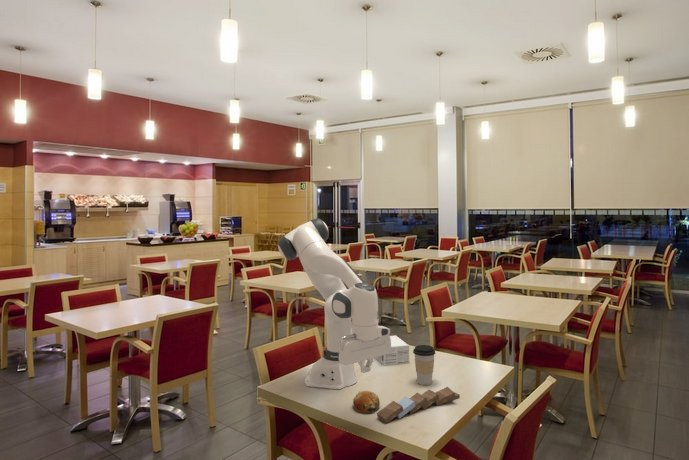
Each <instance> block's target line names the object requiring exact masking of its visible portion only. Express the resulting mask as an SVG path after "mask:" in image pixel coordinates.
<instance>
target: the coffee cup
mask: <svg viewBox="0 0 689 460" xmlns="http://www.w3.org/2000/svg"><path fill="white" fill-rule="evenodd" d="M412 354H414V363H415V364H414V365H415V366H414V367H415V371H416V372H415V373H416V377H417V383H418V384H419V385H422V386H430V385H431V384H432V382H433V374H434V367H435V365H434V363H435V355H436V350H435V348H434V347H433V346H432V345H427V344H419V345H416V346H414V348H413V350H412Z"/></svg>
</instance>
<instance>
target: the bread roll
mask: <svg viewBox="0 0 689 460" xmlns="http://www.w3.org/2000/svg"><path fill="white" fill-rule="evenodd" d="M352 402H353V403H352V404H353V408H354V410H355V411H356V412H358V413H360V412H361V413H360V414H372V412H373V413H374V412H376V411H377V410H378V409H379V408H380V404H381V403H380V399H379V396H378V395H377V393H375V392H373V391H371V390H361V391H360V390H359V392H358V393H357V394H356V395H355V396H354V398H353V400H352Z"/></svg>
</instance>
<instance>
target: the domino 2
mask: <svg viewBox="0 0 689 460" xmlns="http://www.w3.org/2000/svg"><path fill="white" fill-rule="evenodd" d="M409 398H410V397H407V396H404V397H403V398H402V399H400V400H399V401H398V402H397V403H398V404H400V405H402V407H403V410H404V411H402V412H401V413H400V414H399V415H397V416H396V417H395V418H397V419H400V420H401V418H403V417H404V416H405V415H406V414H407V413H409V411H410V410H411V409H413V408H414V407H415V403H414V401H412V400H410V399H409Z"/></svg>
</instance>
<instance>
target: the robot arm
mask: <svg viewBox="0 0 689 460" xmlns="http://www.w3.org/2000/svg"><path fill="white" fill-rule="evenodd" d="M329 236H330V232H329V227H328V225H327V224H326V223H325V221H323V220H322V219H321V218H318V217H316V218H313V219H311V220H310V221H307V222H304V223H302V224H300V225H298V226H296V227H295V228H294V229H292V230H291V231H290V232H288V233H287V234H285V235H282V236H281V237H280V238H279V239H278V241H277V247H278V249H277V250H278V252H279V253H280V256H281V257H283V258H284V259H286V261H287V260H288V261H292V260H296V259H297V258H299V261H300V263H301V265H302V268H303V269H304V271H305V273H306V275H307V277H308V278H309V280H310V282H311V283H312V285H313V287H314V289H316V291H318V292H319V294H320V295H321V296H322V298H323V299H324V301H325V303H324V306H323V307H324V309H323V310H324V319H325V320H324V321H325V328H326V346H323V347H322V357H320V358H319V359H318V360H317V361H316V362H315V363H313V364H312V365H311V369H310V372H309V374H307V375H306V377H305V378H304V385H305V386H306V387H311V388H312V387H314V388H319V389H320V388H321V389H323V388H324V389H331V390H333V389H334V390H341V389H343V388H347V387H350V386H352V385H355V384H356V383H357V381H358V379H357V375H356V371H355V363H357V364H358V365H359V367H360V372H361V373H363V374H365V373H369V372H371V366H372V365H373V363H374V359H376V358H375V357H379V356H383V355H387V354H389V353H390V351H391V338H390V336H391V335H390V334H391V329H390V328H388V327H386V326H383V325H381V324H380V325H379V320H378V312H379V302H380V299H379V295H378V292H377V289H376V287H375V286H374V285H373V284H371V283H368V282H365V281H364V279H363V278H361V276H360V275H359V274H358V273H357V272H356V270H354V268H353V266H351V265H350V264H349V263H348V261H346V260H345V259H344V258H343V257H341V256H339V255H338V254H336V252H334V250H332V249H331V248H330V247H329V246H328V244H327V243H326V242H327V240H328V239H329ZM365 362H366V363H365Z"/></svg>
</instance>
